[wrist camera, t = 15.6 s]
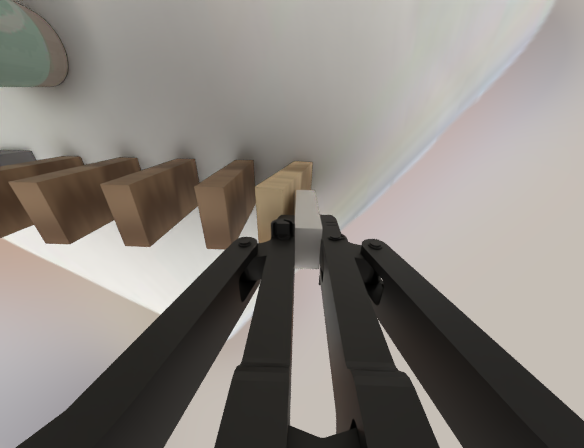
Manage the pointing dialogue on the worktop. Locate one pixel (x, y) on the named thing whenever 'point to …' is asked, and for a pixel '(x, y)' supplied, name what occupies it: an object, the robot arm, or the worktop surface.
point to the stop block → (15, 157)
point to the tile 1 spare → (280, 195)
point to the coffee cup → (29, 49)
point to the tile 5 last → (3, 201)
